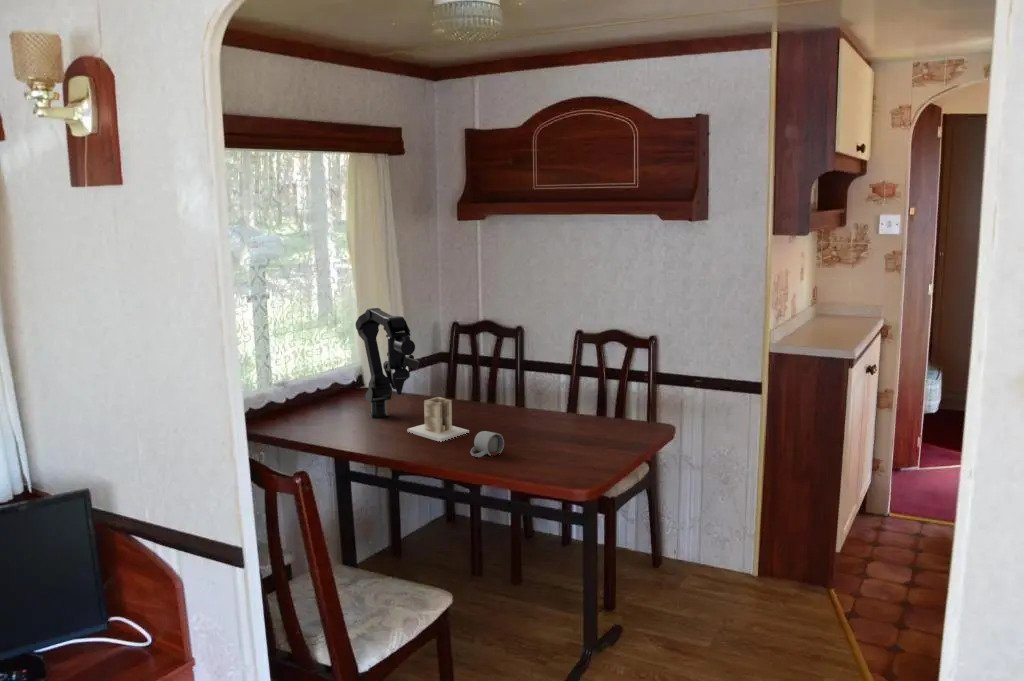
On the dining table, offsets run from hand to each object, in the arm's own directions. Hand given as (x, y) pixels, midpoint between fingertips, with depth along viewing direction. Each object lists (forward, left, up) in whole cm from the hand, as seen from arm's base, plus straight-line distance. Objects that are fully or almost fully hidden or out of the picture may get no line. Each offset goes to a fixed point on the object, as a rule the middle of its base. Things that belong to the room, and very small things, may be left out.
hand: (396, 391), depth 316 cm
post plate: (+14, +12, -13) cm, 23 cm away
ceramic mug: (+43, +21, -13) cm, 50 cm away
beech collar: (+14, +12, -12) cm, 22 cm away
